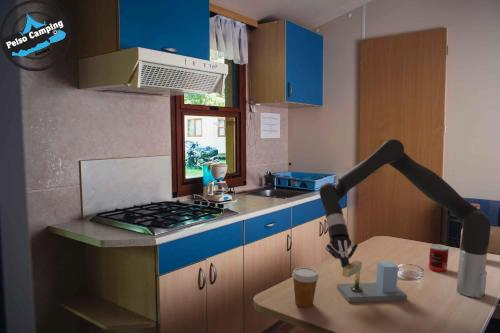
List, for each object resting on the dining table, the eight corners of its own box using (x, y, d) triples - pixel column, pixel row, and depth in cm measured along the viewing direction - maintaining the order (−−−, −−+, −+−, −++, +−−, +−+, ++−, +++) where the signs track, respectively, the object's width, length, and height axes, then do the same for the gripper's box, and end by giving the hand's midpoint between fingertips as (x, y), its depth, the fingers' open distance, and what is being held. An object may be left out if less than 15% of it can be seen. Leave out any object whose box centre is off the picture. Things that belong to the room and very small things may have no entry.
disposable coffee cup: (299, 295, 150) (301, 265, 148) (322, 303, 144) (323, 271, 142) (285, 303, 142) (287, 272, 141) (308, 312, 136) (310, 279, 135)
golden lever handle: (354, 286, 153) (356, 260, 152) (360, 288, 151) (362, 261, 150) (341, 295, 144) (342, 267, 143) (347, 297, 143) (348, 269, 141)
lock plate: (391, 287, 160) (392, 276, 159) (406, 300, 148) (407, 289, 147) (337, 288, 157) (337, 277, 156) (348, 302, 145) (349, 290, 144)
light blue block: (389, 285, 156) (390, 261, 155) (396, 291, 151) (398, 266, 149) (375, 286, 155) (377, 261, 154) (382, 292, 150) (384, 267, 149)
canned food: (442, 267, 185) (444, 244, 183) (449, 273, 177) (451, 249, 175) (425, 266, 185) (427, 243, 184) (431, 272, 177) (433, 248, 176)
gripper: (323, 222, 154) (332, 264, 144) (355, 222, 156) (366, 263, 145) (318, 232, 160) (326, 272, 149) (350, 231, 162) (359, 272, 151)
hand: (346, 268), depth 147 cm, fingers closed
